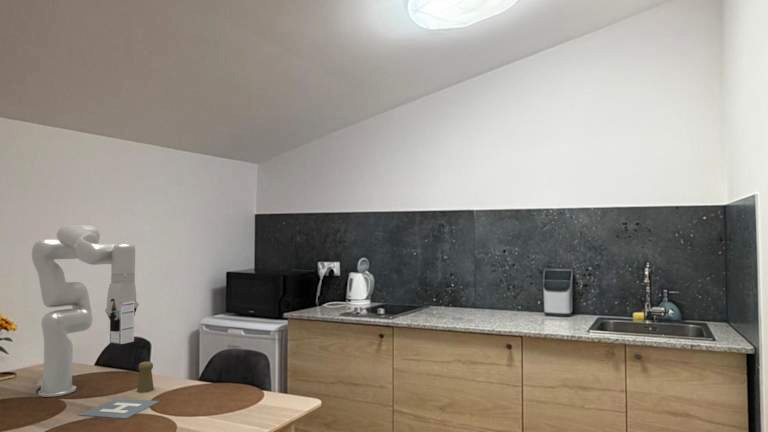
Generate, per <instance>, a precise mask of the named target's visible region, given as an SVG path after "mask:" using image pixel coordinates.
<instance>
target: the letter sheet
mask: <svg viewBox="0 0 768 432" xmlns="http://www.w3.org/2000/svg"><path fill="white" fill-rule="evenodd" d="M159 402H160V400H147V399H146V400H145V399H131V398H129V399H128V398H117V397H115V398H113V399H112V400H111V399H110V400H108V401H107V402H104V403H103V404H100V405H98V406H95V407H92V408H91V409H89V410H87V411H84V412H81V413H80V414H78V416H82V417H83V416H84V417H97V418H98V417H99V418H113V419H123V420H124V419H125V420H126V419H128V418H131V417H132V416H134V415H136V414H138V413H140V412H142V411H144V410H147V409H149V408H151V407H152V406H154V405H156V404H159Z"/></svg>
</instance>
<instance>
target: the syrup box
mask: <svg viewBox="0 0 768 432" xmlns="http://www.w3.org/2000/svg"><path fill="white" fill-rule="evenodd" d="M115 311H117V310H116V309H115ZM114 314H115V316H116V313H114ZM118 320H119V331H118V332H115V331H110V330H109V343H110V344H116V345H124V344H128V343H129V344H130V343H132V342H135V316H134V301H127V302H125V303H123V305H122V307H121V311H120V312H119V318H118Z"/></svg>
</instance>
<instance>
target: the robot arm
mask: <svg viewBox="0 0 768 432" xmlns="http://www.w3.org/2000/svg"><path fill="white" fill-rule="evenodd" d="M100 237H101V233H100V231H99V229H98V227H96V226H95V225H92V224H72V223H71V224H66V225H63V226H61V227H59V228H58V230H57V233H56V237H47V238H42V239H39V240H37V241H35V243H34V244H33V246H32V248H31V260H32V263H33V265H34V268H35V270H36V272H37V275H38V280H39V287H40V288H39V289H40V293H41V299H42V303H43V305H44V306H45V307H47V308H53V309H54V308H55V309H56V308H63V307H71V308H66V309H58V310H57V309H56V310H53V311H49V312H48V313H45V315H44V316H43V317H42V319H41V329H42V336H43V372H42V373H43V375H42V376H43V377H42V378H43V379H40V380H38V382H37V383H35V386H36V387H40V389H39V390H38V392H37V395H38V397H45V398H47V397H49V398H51V397H59V396H64V395H68V394H72V393H74V392H75V391H77V385H76V384H75V385H74V384H73V357H74V356H73V354H74V353H73V352H74V351H73V350H74V349H73V348H74V346H73V342H72V341H71V339H70V338H69V337H68V335H69V334H73V333H79V332H84V331H87V330H89V329H90V328H91V326H92V324H93V314H92V308H91V302H90V301H91V300H90V295H89V291H88V288H87V287H86V285H85V284H84V283H82V282H80V281H70V282H69V281H66V278H65V272H64V269H63V268H62V267H61V266H60V265H59V264H58V263H57V262H56V261H55V260H75V259H78V260H79V261H81V262H83V263H86V264H87V265H90V266H91V265H92V266H95V265H98V266H99V265H111V268H110V269H111V271H110V273H111V275H110V277H111V278H110V282H111V283H110V282H109V286H108V290H107V297H106V307H105V310H104V311H105V313H106V315H107V317H108V320H109V332H110V331H115V332H118V331H119V320H118V318H119V312H120V311H121V307H122V305H123V303H125V302H127V301H134V317H135V315H136V312H137V309H138V307H139V303H138V302H137V289H136V278H135V277H136V246H135V245H134V244H132V243H119V242H118V243H117V242H114V243H113V242H111V243H109V242H108V243H107V242H105V243H103V242H101V243H99V242H100ZM115 309H116V310H117V311H115ZM114 313H116V316H115V314H114Z"/></svg>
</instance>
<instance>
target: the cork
mask: <svg viewBox="0 0 768 432" xmlns="http://www.w3.org/2000/svg"><path fill="white" fill-rule="evenodd" d="M153 369H154V364H153V362H152V361H143V362H140V363H139V364H138V370H139V375H138V383H137V387H136V392H137V393H139V394H140V393H141V394H142V393H149V392H153V391H154V390H155V389H154V388H155V387H154V381H153V380H154V379H153V371H152V370H153Z"/></svg>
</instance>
